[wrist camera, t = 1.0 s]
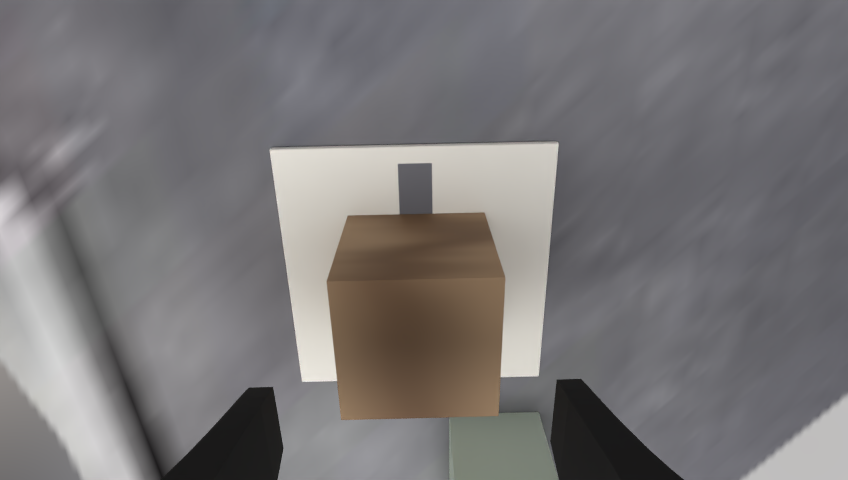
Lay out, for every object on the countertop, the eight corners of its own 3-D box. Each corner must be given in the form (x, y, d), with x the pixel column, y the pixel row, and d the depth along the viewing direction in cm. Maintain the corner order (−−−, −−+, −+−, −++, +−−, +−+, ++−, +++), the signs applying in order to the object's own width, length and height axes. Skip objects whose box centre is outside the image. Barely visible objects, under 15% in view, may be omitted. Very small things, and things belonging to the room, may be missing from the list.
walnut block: (484, 212, 19) (505, 277, 15) (480, 327, 21) (498, 416, 17) (347, 215, 19) (326, 281, 15) (357, 330, 21) (341, 419, 17)
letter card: (556, 141, 19) (558, 143, 18) (536, 371, 23) (538, 376, 22) (271, 147, 19) (269, 149, 18) (303, 376, 23) (302, 381, 22)
